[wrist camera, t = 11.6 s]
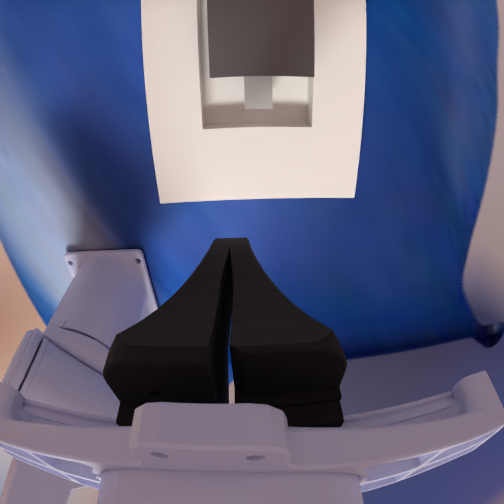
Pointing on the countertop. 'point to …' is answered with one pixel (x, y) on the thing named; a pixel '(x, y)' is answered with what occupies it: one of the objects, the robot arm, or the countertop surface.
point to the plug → (260, 43)
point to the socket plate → (253, 111)
